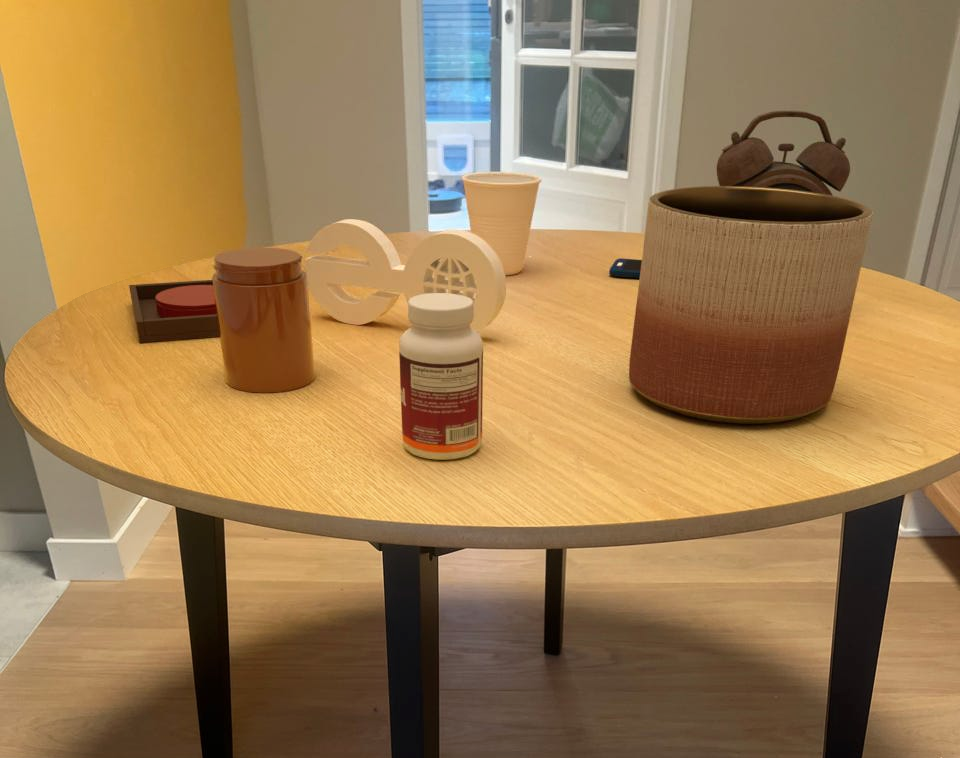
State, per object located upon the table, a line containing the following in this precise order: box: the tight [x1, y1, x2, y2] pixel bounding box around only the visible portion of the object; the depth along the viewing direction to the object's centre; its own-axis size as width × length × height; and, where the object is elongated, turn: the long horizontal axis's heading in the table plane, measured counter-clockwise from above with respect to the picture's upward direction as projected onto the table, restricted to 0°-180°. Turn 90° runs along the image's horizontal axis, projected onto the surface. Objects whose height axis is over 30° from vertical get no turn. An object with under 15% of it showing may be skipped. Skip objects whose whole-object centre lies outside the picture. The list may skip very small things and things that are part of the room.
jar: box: [211, 247, 316, 394], centre depth 83 cm, size 8×8×10 cm
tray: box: [128, 279, 220, 344], centre depth 101 cm, size 13×15×2 cm
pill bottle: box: [398, 292, 484, 461], centre depth 70 cm, size 6×6×11 cm
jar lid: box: [156, 285, 217, 318], centre depth 101 cm, size 9×9×2 cm
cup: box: [461, 171, 543, 276], centre depth 119 cm, size 10×10×11 cm
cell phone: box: [608, 257, 642, 279], centre depth 121 cm, size 7×14×1 cm, turn 75°
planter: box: [628, 185, 874, 425], centre depth 80 cm, size 18×18×16 cm
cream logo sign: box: [304, 218, 507, 333], centre depth 97 cm, size 22×2×10 cm, turn 67°
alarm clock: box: [716, 110, 851, 196], centre depth 103 cm, size 15×7×20 cm, turn 92°
